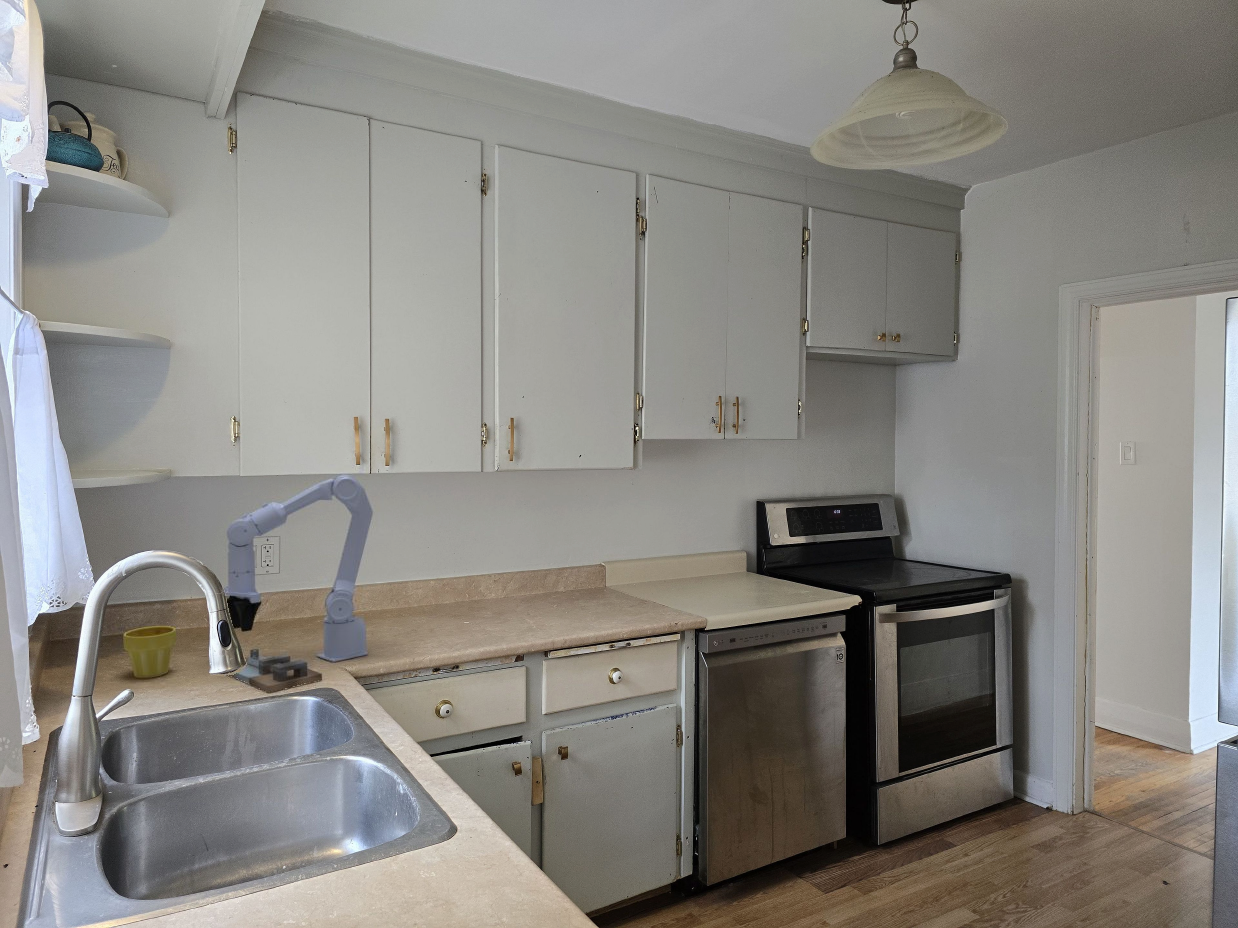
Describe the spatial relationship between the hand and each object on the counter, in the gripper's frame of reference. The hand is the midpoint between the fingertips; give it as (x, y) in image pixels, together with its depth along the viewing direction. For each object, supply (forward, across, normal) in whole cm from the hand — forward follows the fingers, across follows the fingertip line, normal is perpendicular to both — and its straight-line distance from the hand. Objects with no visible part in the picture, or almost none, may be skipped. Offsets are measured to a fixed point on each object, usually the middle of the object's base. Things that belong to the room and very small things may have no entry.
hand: (242, 629), depth 194 cm
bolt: (+7, +11, 0) cm, 13 cm away
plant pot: (+9, -8, -17) cm, 21 cm away
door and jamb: (+8, +14, 0) cm, 16 cm away
